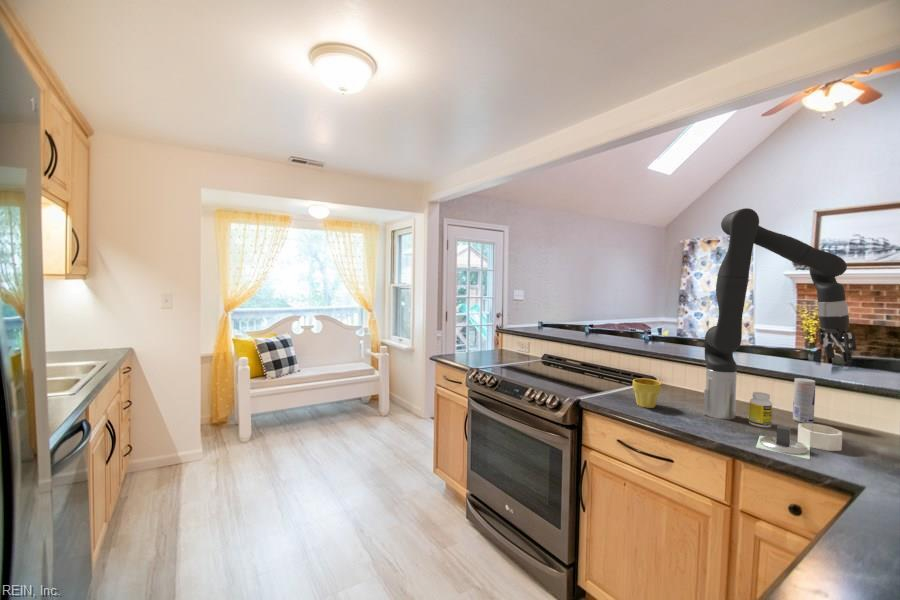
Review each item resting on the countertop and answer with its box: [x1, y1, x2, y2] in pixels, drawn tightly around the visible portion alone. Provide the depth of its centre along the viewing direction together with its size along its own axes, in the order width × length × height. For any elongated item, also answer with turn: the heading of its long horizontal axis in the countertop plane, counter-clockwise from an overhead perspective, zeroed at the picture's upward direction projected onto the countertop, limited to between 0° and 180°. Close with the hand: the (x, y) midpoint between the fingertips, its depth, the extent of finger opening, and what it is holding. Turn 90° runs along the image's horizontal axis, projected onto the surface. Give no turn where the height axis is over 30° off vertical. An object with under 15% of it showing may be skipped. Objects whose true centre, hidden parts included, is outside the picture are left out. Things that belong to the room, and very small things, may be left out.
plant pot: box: [632, 377, 662, 409], centre depth 161 cm, size 10×10×10 cm
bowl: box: [796, 422, 843, 452], centre depth 122 cm, size 10×10×5 cm
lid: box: [760, 424, 808, 455], centre depth 120 cm, size 11×11×6 cm
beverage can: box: [792, 377, 816, 423], centre depth 143 cm, size 6×6×15 cm
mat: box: [755, 435, 811, 460], centre depth 121 cm, size 12×12×1 cm
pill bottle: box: [748, 391, 773, 428], centre depth 139 cm, size 6×6×11 cm
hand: (838, 360), depth 139 cm, fingers open, 8 cm apart
